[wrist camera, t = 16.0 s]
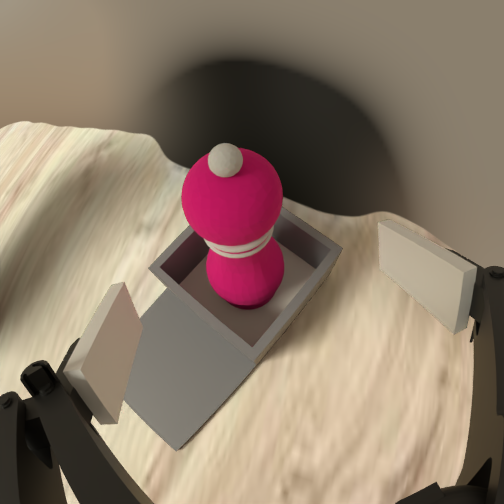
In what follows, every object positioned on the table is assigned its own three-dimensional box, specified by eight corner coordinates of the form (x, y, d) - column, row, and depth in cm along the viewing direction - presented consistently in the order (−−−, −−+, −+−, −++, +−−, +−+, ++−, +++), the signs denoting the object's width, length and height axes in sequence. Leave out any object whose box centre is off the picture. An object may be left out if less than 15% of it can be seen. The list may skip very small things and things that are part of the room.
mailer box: (98, 368, 30) (65, 362, 24) (242, 211, 37) (237, 177, 31) (177, 450, 26) (156, 464, 20) (329, 273, 33) (342, 248, 27)
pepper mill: (281, 250, 34) (293, 102, 16) (282, 314, 31) (303, 211, 13) (216, 250, 34) (166, 109, 16) (212, 314, 31) (138, 214, 13)
